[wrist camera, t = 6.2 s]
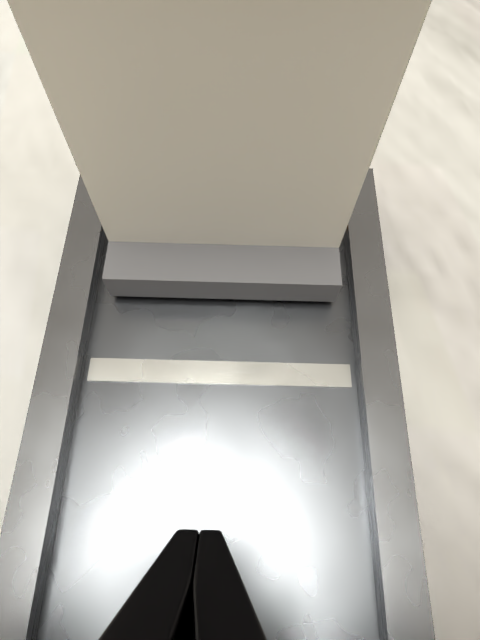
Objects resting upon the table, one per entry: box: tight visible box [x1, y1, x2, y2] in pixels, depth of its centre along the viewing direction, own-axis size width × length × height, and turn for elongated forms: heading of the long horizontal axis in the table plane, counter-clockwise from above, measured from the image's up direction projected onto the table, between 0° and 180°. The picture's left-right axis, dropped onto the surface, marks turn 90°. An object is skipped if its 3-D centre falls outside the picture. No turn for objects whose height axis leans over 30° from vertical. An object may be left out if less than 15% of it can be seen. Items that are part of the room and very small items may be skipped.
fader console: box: [0, 169, 435, 640], centre depth 15 cm, size 24×12×3 cm, turn 179°
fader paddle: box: [7, 0, 432, 302], centre depth 12 cm, size 5×8×12 cm, turn 89°
